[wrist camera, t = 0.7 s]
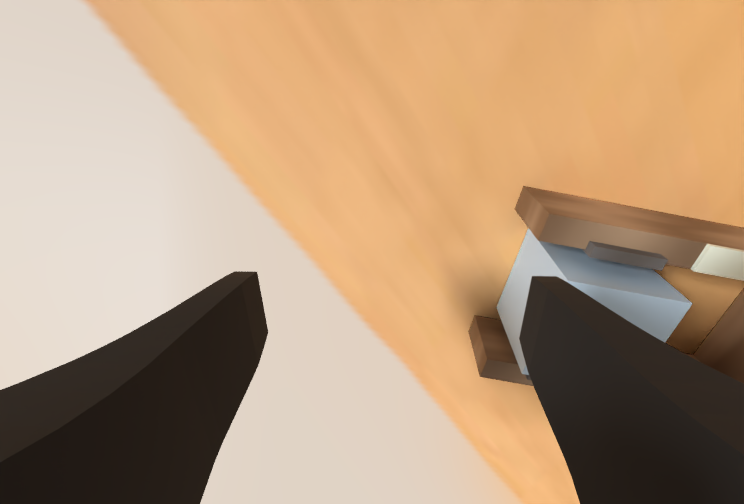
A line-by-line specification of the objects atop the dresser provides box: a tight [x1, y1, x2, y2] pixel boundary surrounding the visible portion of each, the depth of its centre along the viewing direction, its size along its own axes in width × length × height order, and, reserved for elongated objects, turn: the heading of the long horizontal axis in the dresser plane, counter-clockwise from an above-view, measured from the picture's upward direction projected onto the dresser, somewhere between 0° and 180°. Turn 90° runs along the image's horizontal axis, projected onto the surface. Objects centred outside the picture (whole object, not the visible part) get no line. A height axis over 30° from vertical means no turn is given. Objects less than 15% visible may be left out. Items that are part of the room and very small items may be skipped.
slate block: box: [496, 228, 693, 375], centre depth 18 cm, size 5×5×5 cm
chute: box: [469, 186, 744, 386], centre depth 19 cm, size 14×9×4 cm, turn 80°
